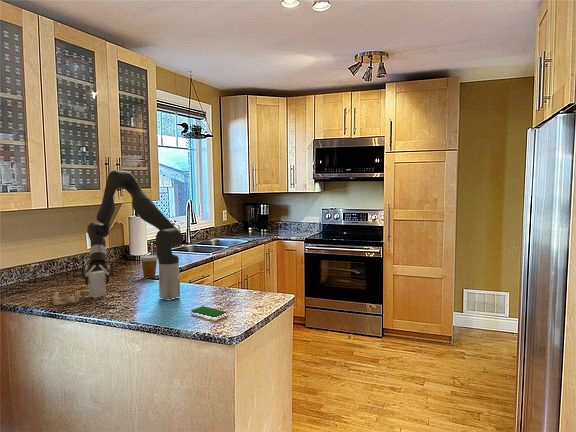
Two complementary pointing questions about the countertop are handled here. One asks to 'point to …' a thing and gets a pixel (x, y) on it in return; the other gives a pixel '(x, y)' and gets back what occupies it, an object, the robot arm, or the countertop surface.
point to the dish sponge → (208, 311)
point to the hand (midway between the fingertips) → (97, 283)
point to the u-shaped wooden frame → (65, 299)
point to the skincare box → (97, 284)
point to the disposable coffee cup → (149, 265)
